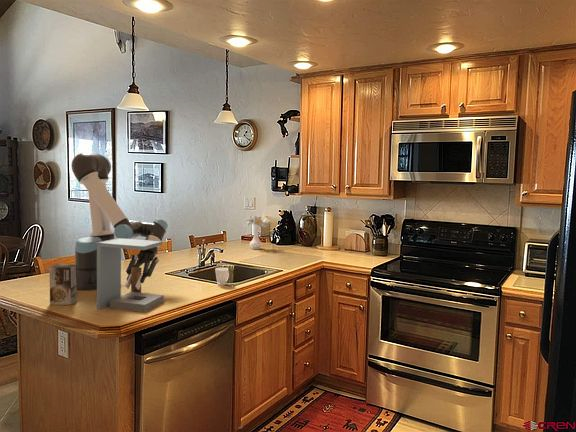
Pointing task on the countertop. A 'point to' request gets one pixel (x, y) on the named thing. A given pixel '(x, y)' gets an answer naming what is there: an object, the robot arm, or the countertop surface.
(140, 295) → the socket
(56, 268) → the coffee box
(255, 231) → the flower vase
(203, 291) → the countertop surface
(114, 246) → the grey l-shaped frame
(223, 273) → the cup
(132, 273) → the peg
